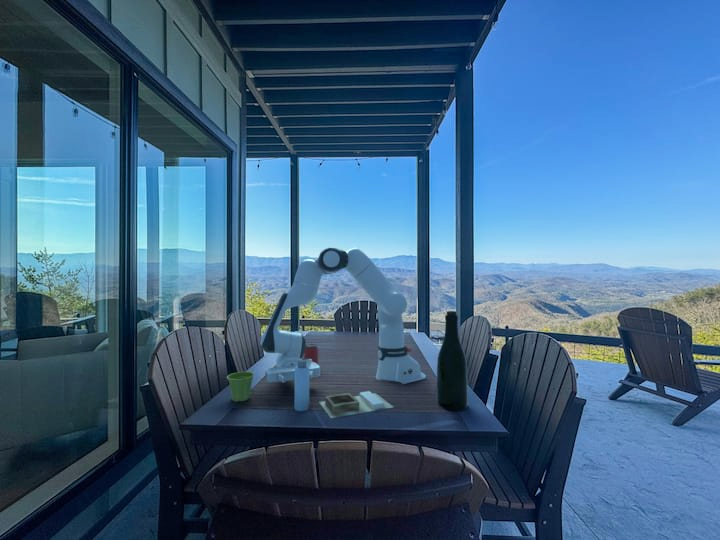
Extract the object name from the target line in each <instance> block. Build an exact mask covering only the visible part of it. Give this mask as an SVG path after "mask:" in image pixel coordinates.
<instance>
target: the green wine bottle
mask: <svg viewBox="0 0 720 540" xmlns="http://www.w3.org/2000/svg"><path fill="white" fill-rule="evenodd" d="M444 319H445V329H444V338H443V341H442V344H441V346H440V348H439V352H438V354H437V355H438V356H437V363H436V365H437V366H436V404H437V405H438V406H439V407H440V408H443V409H444V410H447V411H453V412H455V411H456V412H457V411H458V412H459V411H463V410H465V409H467V408H468V405H469V399H468V397H469V395H468V391H469V390H468V387H469V386H468V367H467V357H466V353H465V351H464V348H463V346H462V343H461V339H460V335H459V322H458V321H459V316H458V314H457V311H455V310H447V311H446V314H445V316H444Z"/></svg>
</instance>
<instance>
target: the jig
mask: <svg viewBox="0 0 720 540" xmlns="http://www.w3.org/2000/svg"><path fill="white" fill-rule="evenodd" d="M373 394H374V395H375V396H376V397H378V398H379V399H380V400H381V401H383V402H384V408H378V409H373V408H372V407H370V406H369V405H368V404H367V403H366V402H365V401H364V400H363V399H361V398H360V395H357V396H356V395H355V396H353V395H352V393H350V392H347V393H340V394H333V395H328V396H327V395H326V396H325V397H324V400H323V401H319V402H318V403H319V404H320V406H321V407H322V409H323V410H324V411H325V413H326V414H327V415H328V416H329V418H330V419H336V418H341V417H346V416H353V415H357V414H363V413H369V412H375V411H379V410H380V411H381V410H386V409H392V408H394V406H393V405H392V404H391V403H389V402H387V400H385V399H384V398H382V397H381V396H380V395H379V394H377V393H376V392H375V393H373Z"/></svg>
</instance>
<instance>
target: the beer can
mask: <svg viewBox="0 0 720 540" xmlns="http://www.w3.org/2000/svg"><path fill="white" fill-rule="evenodd" d="M303 359H312V362H315V363H316V364H318V365H319V347H318V345H317V344H313V343H310V344H309V343H308V344H306V348H305V352H304V355H303Z"/></svg>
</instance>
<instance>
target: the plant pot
mask: <svg viewBox="0 0 720 540" xmlns="http://www.w3.org/2000/svg"><path fill="white" fill-rule="evenodd" d="M254 376H255V373H254V372H252V371H239V372H238V371H237V372H234V373H230V374H229V375H227V376H226V379H227V381H228V383H229V389H230V396H231V401H233V402H237V403H238V402H245V401H248V400H250V397H251V396H250V395H251V390H252V383H253V379H254Z"/></svg>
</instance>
